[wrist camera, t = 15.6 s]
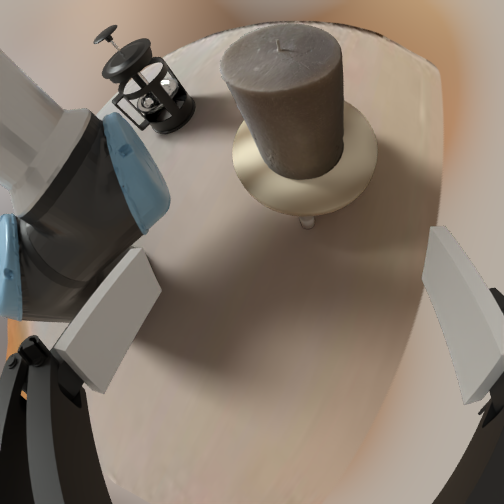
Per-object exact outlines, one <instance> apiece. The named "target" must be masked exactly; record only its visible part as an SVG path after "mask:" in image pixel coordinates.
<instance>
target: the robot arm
mask: <svg viewBox="0 0 504 504" xmlns="http://www.w3.org/2000/svg"><path fill="white" fill-rule="evenodd" d="M0 185H2V186H3V187H4V188H6V189H7V190H8V191H9V193H10V196H11V201H12V206H13V211H14V214H15V215H16V216H15V215H14V214H3V215H2V216H1V217H0V316H2V317H6V318H9V319H14V320H17V321H22V320H27V321H43V322H65V323H70V324H69V325H68V327H67V328H66V329H65V331H64V332H63V333H62V335H61V336H60V338H59V339H58V340H57V342H56V343H55V345H54V346H53V348H52V349H51V350H50V351H49V350H48V349H47V347H46V346H45V345H44V344H43V343H42V341H41V340H40V339H39V338H38V336H36V335H33V336H30V337H28V338H27V339H25V340H24V341H23V342H22V343H21V345H20V347H19V349H18V353H15V354H12V355H11V356H10V357H9V358H8V360H7V361H6V363H5V366H4V369H3V372H2V375H1V378H0V504H112V502H111V499H110V496H109V493H108V490H107V487H106V484H105V480H104V477H103V474H102V470H101V467H100V463H99V459H98V455H97V451H96V447H95V442H94V438H93V433H92V428H91V423H90V417H89V411H88V405H87V398H86V392H85V389H84V388H83V387H82V385H83V383H84V382H85V383H86V384H87V385H88V386H89V387H90V388H91V389H92V390H94V391H97V392H100V393H103V394H105V392H106V390H107V388H108V386H109V384H110V382H111V380H112V378H113V376H114V374H115V373H116V371H117V369H118V367H119V365H120V363H121V361H122V360H123V358H124V356H125V354H126V352H127V350H128V349H129V347H130V345H131V343H132V341H133V340H134V338H135V336H136V334H137V333H138V331H139V329H140V327H141V326H142V324H143V322H144V320H145V319H146V317H147V315H148V313H149V312H150V310H151V308H152V307H153V305H154V303H155V302H156V300H157V298H158V297H159V295H160V293H161V292H162V290H161V288H160V286H159V284H158V281H157V279H156V277H155V275H154V273H153V270H152V268H151V266H150V264H149V261H148V259H147V257H146V254H145V252H144V249H143V248H134V247H132V246H131V245H132V244H133V243H134V242H135V241H137V240H138V239H139V238H140V237H141V236H143V235H146V234H147V233H148V231H149V228H151V227H152V226H153V225H154V224H155V223H156V222H157V221H158V220H159V219H160V218H161V217H163V216H164V215H165V214H166V212H167V211H168V209H169V206H170V193H169V190H168V187H167V184H166V182H165V180H164V178H163V176H162V174H161V172H160V171H159V169H158V167H157V165H156V163H155V162H154V160H153V158H152V157H151V155H150V153H149V152H148V150H147V149H146V147H145V145H144V144H143V142H142V141H141V139H140V138H139V136H138V135H137V134H136V132H135V131H134V129H133V128H132V127H131V126H130V124H129V123H128V122H127V121H126V120H125V119H124V118H123V117H122V116H121V115H120V114H119V113H116V112H113V113H111V114H110V115H106V116H105V117H104V118H103V120H99V119H98V118H97V117H96V116H95V115H94V114H93V113H92V112H91V111H90V110H89V109H87V108H82V109H74V110H65V109H62V108H61V107H60V106H59V105H58V104H57V103H56V102H55V101H54V100H53V99H52V98H50V96H49V95H47V94H46V93H45V92H44V91H43V90H42V89H41V88H40V87H39V86H38V85H37V84H36V83H35V82H34V81H33V80H32V79H31V78H30V77H29V76H27V75H26V74H25V73H24V72H23V71H22V70H21V69H20V68H19V67H18V66H17V65H16V64H15V63H14V62H13V61H12V60H11V59H10V58H9V57H8V56H7V55H6V54H5V53H4V52H3V51H2V50H1V49H0ZM422 281H423V283H424V286H425V288H426V290H427V292H428V295H429V298H430V300H431V302H432V305H433V307H434V310H435V312H436V315H437V318H438V320H439V323H440V325H441V328H442V331H443V334H444V337H445V340H446V343H447V346H448V349H449V352H450V355H451V358H452V361H453V365H454V368H455V372H456V375H457V379H458V383H459V387H460V391H461V395H462V399H463V403H464V405H466V404H470V403H473V402H476V401H479V400H482V399H483V398H484V396H485V395H486V394H487V393H488V392H489V391H490V395H491V399H490V400H489V401H488V402H487V403H486V405H485V406H484V407H483V408H482V409H481V410H480V412H479V413H478V414H479V415H481V414H482V413H483V412H484V414H483V416H482V418H481V420H480V423H479V425H478V427H477V429H476V432H475V433H474V435H473V438H472V440H471V441H470V443H469V445H468V447H467V449H466V451H465V453H464V455H463V457H462V459H461V460H460V462H459V464H458V465H457V467H456V469H455V471H454V472H453V474H452V475H451V477H450V478H449V480H448V481H447V483H446V485H445V486H444V488H443V489H442V491H441V492H440V493H439V495H438V496H437V498H436V499H435V500H434V502H433V503H432V504H504V296H503V295H502V294H501V293H500V292H499V291H498V290H497V289H496V288H490V289H489V288H488V287H487V285H486V284H485V282H484V280H483V279H482V277H481V276H480V274H479V272H478V271H477V269H476V268H475V266H474V265H473V263H472V262H471V260H470V259H469V257H468V256H467V255H466V253H465V252H464V250H463V249H462V247H461V246H460V245H459V243H458V242H457V241H456V239H455V238H454V237H453V235H452V234H451V233H450V231H449V230H448V229H447V227H446V226H432V227H430V233H429V240H428V246H427V252H426V258H425V264H424V269H423V274H422ZM22 390H23V391H24V392H25V393H26V394H27V400H25V399H24V398H23V397H22V396H21V391H22Z"/></svg>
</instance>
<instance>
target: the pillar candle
mask: <svg viewBox="0 0 504 504" xmlns="http://www.w3.org/2000/svg"><path fill="white" fill-rule="evenodd" d="M220 72H221V74H222V76H221V77H222V79H223V80H224V81H225V82H226V84H227V86H228V88H229V90H230V91H231V93H232V96H233V97H234V99H235V101H236V103H237V107H238V109H239V110H240V112H241V115H242V117H243V118H244V120H245V123H246V125H247V127H248V129H249V131H250V133H251V135H252V137H253V139H254V141H255V143H256V146H257V148H258V150H259V153H260V155H261V157H262V158H263V160H264V162H265V163H266V164H267V165H268V167H269V168H270V169H271V170H272V171H273V172H275V173H276V174H278V175H280V176H283V177H286V178H289V179H295V180H305V179H313V178H317V177H320V176H323V175H324V174H327V173H328V172H329V171H331V170H332V169H333V168H334V166H336V165H337V164H338V162H339V160H340V159H341V157H342V154H343V151H344V142H343V136H344V96H343V65H342V52H341V47H340V45H339V44H338V42H337V40H336V39H335V38H334V37H333V36H332V35H330V34H329V33H328V32H326V31H324V30H322V29H319V28H316V27H313V26H309V25H304V24H278V25H272V26H268V27H264V28H258V29H256V30H254V31H251V32H249V33H247V34H245V35H244V36H242V37H240V39H239V40H237V41H236V42H234V43H233V44H231V45H230V47H229V48H228V49H227V50H226V51H225V52H224V55H223V57H222V60H221V61H220Z"/></svg>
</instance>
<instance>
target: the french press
mask: <svg viewBox="0 0 504 504" xmlns="http://www.w3.org/2000/svg"><path fill="white" fill-rule="evenodd" d="M116 28H117V25H113V26H110V27H108V28H107V29H105V30H104V31H102V32H101V33H100V34H99V35H98V36H97V37H96V39H95V40H94V44H97V43H99V42H101V41H103V40H104V39H105V40H106V41H107V42H111V43H112V44H113V46H114V47H115V48H116V49H117V50H118V52H117V53H115V54H114V55H113V56H112V58H111V59H110V60H109V61H108V62H107V63H106V65H105V67H104V68H103V71H102V76H103V77H104V78H105V79H110V80H111V81H112V82H113V83H120V85H119V89H118V91H119V94H118V95H117V96H116V97H115V98H114V99H113V100H112V103H113V104H114V105H115V106H116V107H117V108H118V109H119V110H120V111H121V112H122V113H123V114H124V115H125V116H126V117H128V118H129V119H130V120H131V121H132V122H133V123H134V124H135V125H136V126H137V127H138V128H139V129H140V130H142V131H143V130H144V129H145V128H146V127H147V126H148V125H149V124H150V125H151V126H152V128H153V130H154V131H155V132H157V133H160V134H167V133H171V132H174V131H176V130H178V129H179V128H181V127H182V126H184V125H185V124H186V123H187V122H188V121H189V120H190V118H191V117H192V115H193V113H194V111H195V102H194V100H193V99H192V98H191V97H190V96H189V95H188V93H187V92H186V91H185V89H184V88H183V86H182V85H181V83H180V82H179V81H178V79H177V78H176V76H175V75H174V73H173V72H172V71H171V69H170V68H169V66H168V65H167V64H166V62H165V61H164V60H163V59H162V58H161V57H153V58H152V51H151V48H150V45H151V42H150V40H149V39H146V38H143V39H139V40H136V41H133V42H131V43H129V44H128V45H126V46H124V47H123V48H122V49H119V48H118V46H117V45H116V44H115V43H114V42H113V41H112V40H113V38H112V36H111V34H112V33H113V32H114V31H115V30H116ZM157 62H161V63H162V64H163V67H162V69H161V71H160V73H159V74H158V75H157V76H156V77H155V78H154V79H153V80H152V81H151V82H150V83H149V82H148V81H147V80H146V79H145V77H144V76H143V75H142V74H141V73H140V71H141V70H142V69H143V68H144V67H146V66H148V65H150V64H153V63H157ZM167 71H168V72H169V74H170V75H171V76H172V78H164V77H165V76H166V73H167ZM131 78H133V80H134V81H135V82H136V83H137V84H138V85H139V86H140V88H141V89H140V90H138V91H136V92H134V93H131V94H127V95H125V94H123V92H124V88H125V86H126V84H127V82H128V81H129V80H130V79H131ZM178 86H179V87H178ZM123 97H124V98H125V99H126V100H127V101H128V102H129V103H130V105H131V106H132V107H133V108H134V109H135V110H136V111H137V112H138V113H139V114H140V115H141V116H142V117H143V118H144V119H145V120H144V121H143V122H142V123H141V124H140V125H138V124H137V123H136V122H135V121H134V120H133V119H132V118H131V117H130V116H129V115H128V114H127V113H126V112H124V111H123V110H122V109H121V108H120V107H119V106H118V105H117V103H118V102H119V101H120V100H121V99H122V98H123ZM137 98H139V99H138V102H137V108H136V107H135V106H134V105H133V104H132V103H131V102H130V101H129V100H133V99H137ZM177 100H184V101H185V102H184V104H183V106H182V107H181V108H180V109H179V107H178V106H177V105H176V103H175V102H174V101H177ZM164 107H165V108H166V109H167V110H168V111H169V112H170V114H171V115H172V116H171V117H170V118H168V119H166V120H164V121H161V122H157V117H158V115H159V113H160V111H161V110H162V109H163V108H164ZM141 112H142V113H144V115H143V114H142V113H141Z"/></svg>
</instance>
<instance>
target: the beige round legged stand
mask: <svg viewBox="0 0 504 504" xmlns="http://www.w3.org/2000/svg"><path fill="white" fill-rule="evenodd" d="M343 142H344V151H343V154H342V157H341V159H340V160H339V162H338V164H337V165H336V166H334V168H333V169H332V170H331V171H329V172H328V173H327V174H324V175H323V176H320V177H317V178H313V179H305V180H295V179H289V178H286V177H283V176H280V175H278V174H276V173H275V172H273V171H272V170H271V169H270V168H269V167H268V165H267V164H266V163H265V162H264V160H263V158H262V157H261V155H260V153H259V150H258V148H257V146H256V143H255V141H254V139H253V137H252V135H251V133H250V131H249V129H248V127H247V125H246V123H245V120H244V121H243V123H242V124H241V125H240V127H239V129H238V131H237V133H236V136H235V139H234V143H233V150H232V157H233V164H234V168H235V171H236V173H237V176H238V177H239V179H240V181H241V182H242V184H243V185H244V187H245V188H246V190H247V191H248V192H249V193H250V194H251V196H253V197H254V198H255V199H256V200H257V201H258V202H260V203H261V204H263V205H264V206H266V207H268V208H270V209H272V210H274V211H277V212H280V213H283V214H287V215H292V216H299V219H300V222H301V225H302V227H303V228H305V229H310V228H312V227H313V226H314V224H315V221H314V216H318V215H324V214H328V213H331V212H334V211H336V210H339V209H341V208H343V207H345V206H346V205H348V204H350V203H351V202H352V201H354V200H355V199H356V198H357V197H359V195H360V194H361V193H362V192H363V191H364V190H365V188H366V187H367V185H368V184H369V182H370V180H371V178H372V176H373V173H374V169H375V166H376V162H377V155H378V148H377V141H376V137H375V134H374V131H373V129H372V127H371V125H370V124H369V122H368V121H367V119H366V118H365V117H364V115H363V114H362V113H361V112H360V111H359V110H357V109H356V108H355V107H354V106H352V105H351V104H349V103H348V102H346V101H344V136H343Z"/></svg>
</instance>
